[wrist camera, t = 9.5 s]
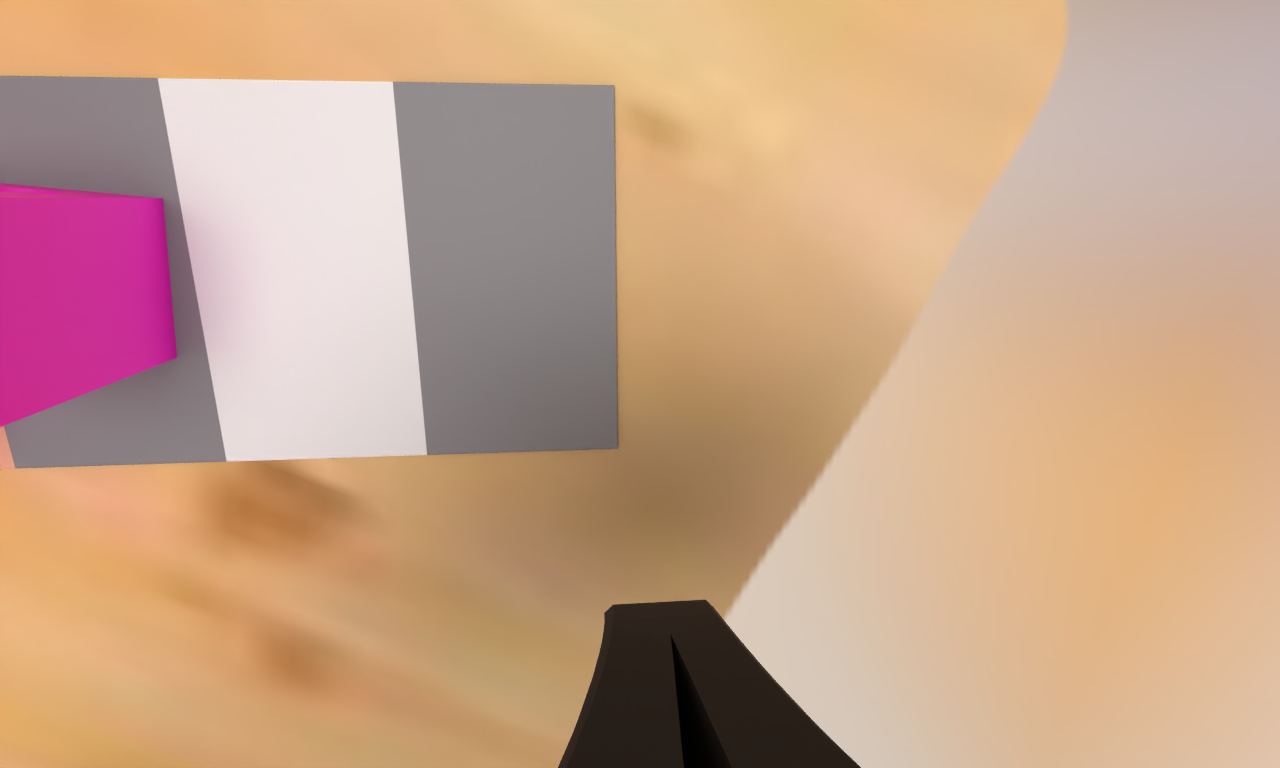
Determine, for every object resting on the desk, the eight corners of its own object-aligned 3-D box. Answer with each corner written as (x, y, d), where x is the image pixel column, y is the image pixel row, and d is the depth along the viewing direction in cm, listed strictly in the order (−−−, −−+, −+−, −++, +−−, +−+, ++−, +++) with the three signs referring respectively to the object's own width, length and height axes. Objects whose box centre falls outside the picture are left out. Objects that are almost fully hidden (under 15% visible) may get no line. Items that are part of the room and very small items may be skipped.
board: (616, 440, 18) (617, 448, 18) (-407, 473, 16) (-444, 483, 16) (613, 89, 16) (614, 85, 15) (-591, 71, 14) (-643, 65, 13)
